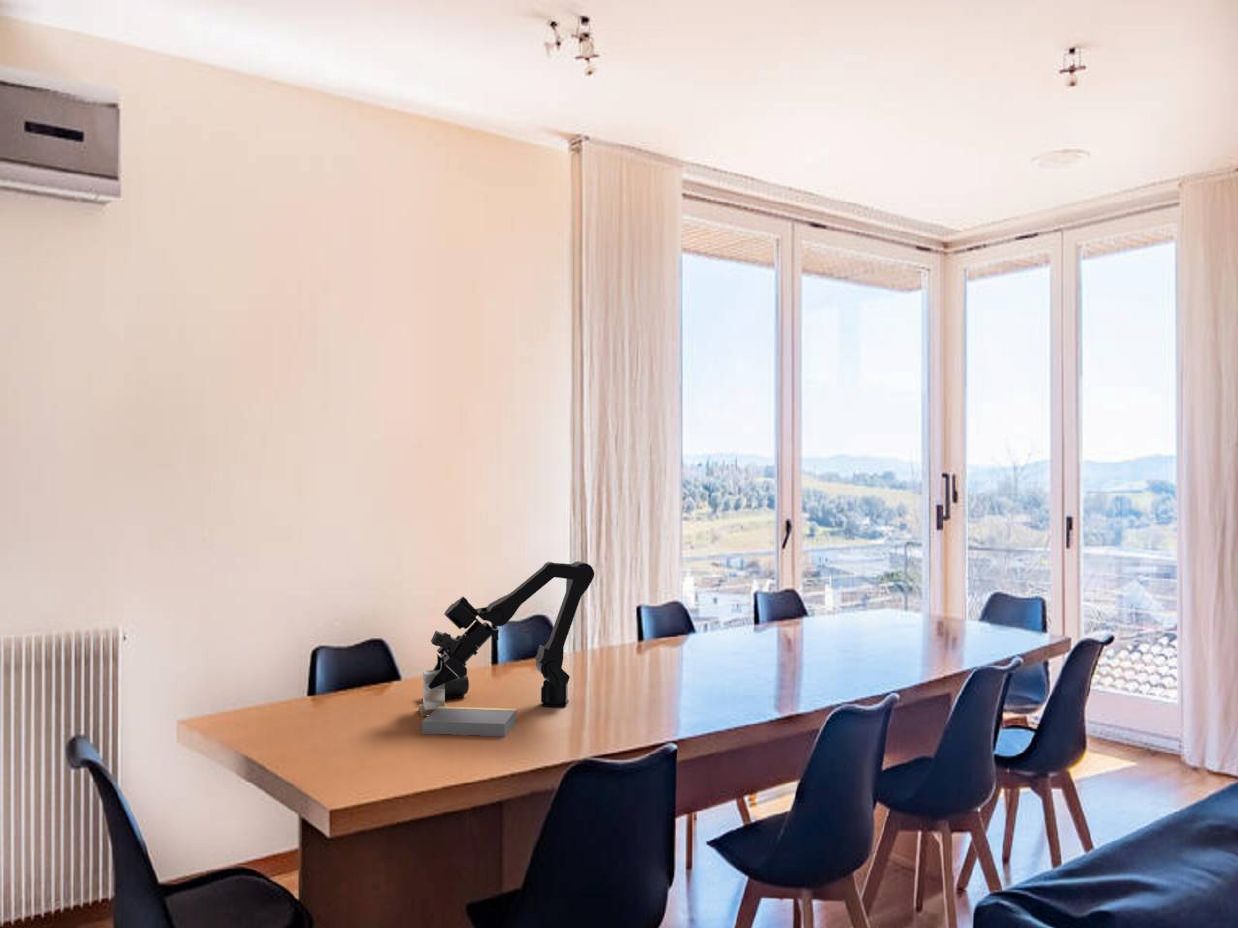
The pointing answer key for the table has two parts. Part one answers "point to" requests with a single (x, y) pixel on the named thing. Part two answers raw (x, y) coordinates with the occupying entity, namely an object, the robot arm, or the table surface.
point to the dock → (469, 721)
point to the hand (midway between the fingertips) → (428, 685)
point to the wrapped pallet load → (431, 694)
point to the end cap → (457, 687)
